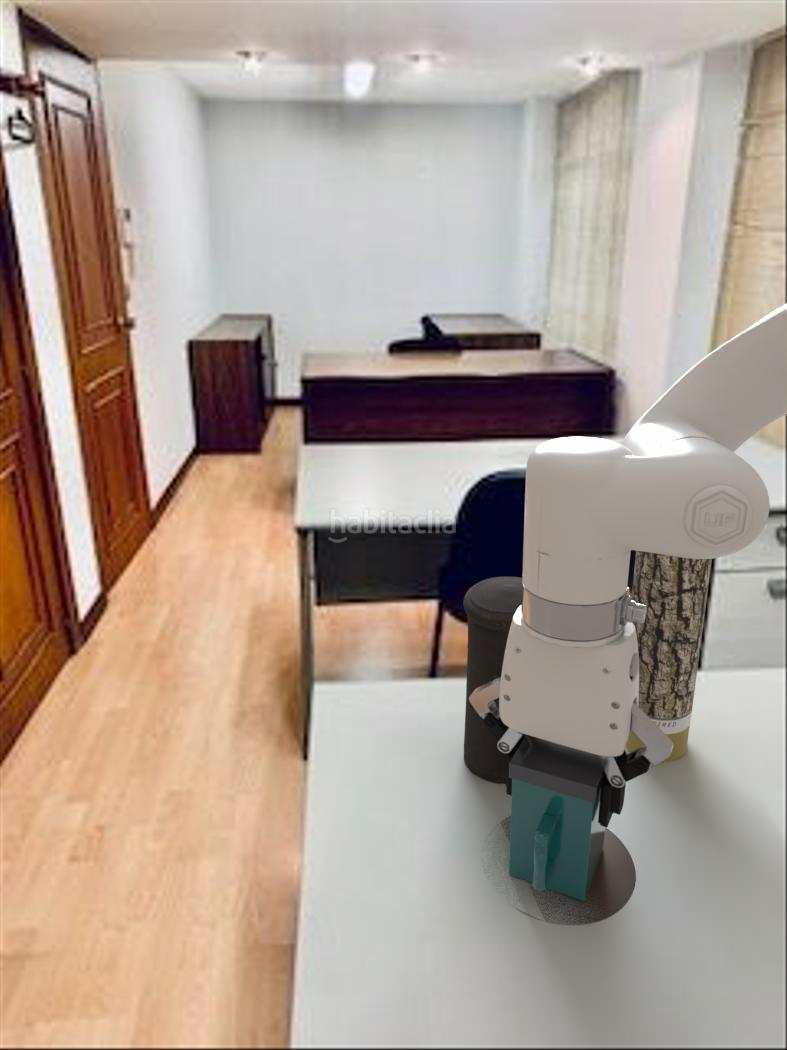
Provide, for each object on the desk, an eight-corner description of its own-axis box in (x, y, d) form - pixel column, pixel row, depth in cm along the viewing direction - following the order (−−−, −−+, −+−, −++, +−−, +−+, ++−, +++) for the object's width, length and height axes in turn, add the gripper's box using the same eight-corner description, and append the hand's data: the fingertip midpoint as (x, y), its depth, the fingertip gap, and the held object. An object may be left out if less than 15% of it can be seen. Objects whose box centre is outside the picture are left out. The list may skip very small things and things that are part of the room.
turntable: (618, 817, 71) (619, 810, 70) (652, 937, 58) (653, 929, 58) (478, 813, 72) (478, 806, 71) (482, 930, 59) (483, 922, 59)
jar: (530, 823, 69) (535, 716, 65) (606, 847, 66) (616, 737, 62) (495, 897, 61) (498, 782, 57) (578, 928, 58) (588, 809, 54)
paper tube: (691, 772, 76) (723, 541, 67) (621, 765, 77) (643, 537, 69) (680, 731, 82) (707, 515, 74) (615, 726, 84) (634, 512, 75)
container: (565, 778, 76) (577, 598, 69) (485, 803, 73) (489, 617, 66) (521, 730, 83) (527, 563, 76) (447, 751, 80) (446, 579, 73)
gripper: (705, 608, 55) (679, 805, 61) (483, 567, 63) (480, 745, 70) (687, 656, 49) (661, 869, 55) (444, 603, 57) (445, 794, 63)
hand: (560, 798), depth 62 cm, fingers closed on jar, 7 cm apart
